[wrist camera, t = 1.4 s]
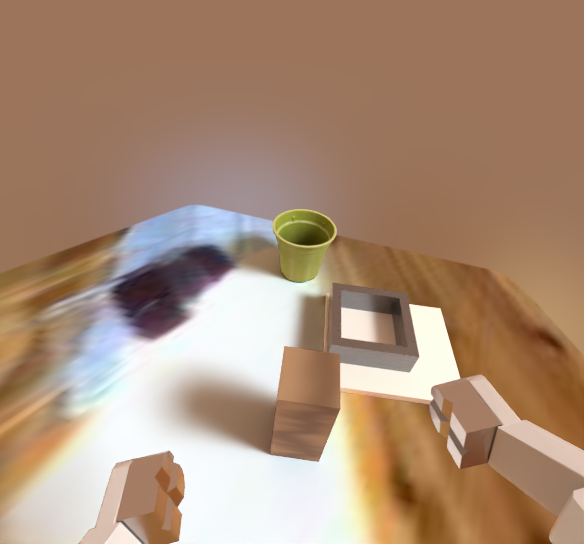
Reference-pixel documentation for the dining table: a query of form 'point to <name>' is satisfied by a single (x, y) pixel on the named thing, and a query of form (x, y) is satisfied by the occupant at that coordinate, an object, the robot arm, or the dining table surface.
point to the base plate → (379, 328)
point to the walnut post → (306, 403)
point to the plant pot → (302, 242)
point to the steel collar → (365, 351)
